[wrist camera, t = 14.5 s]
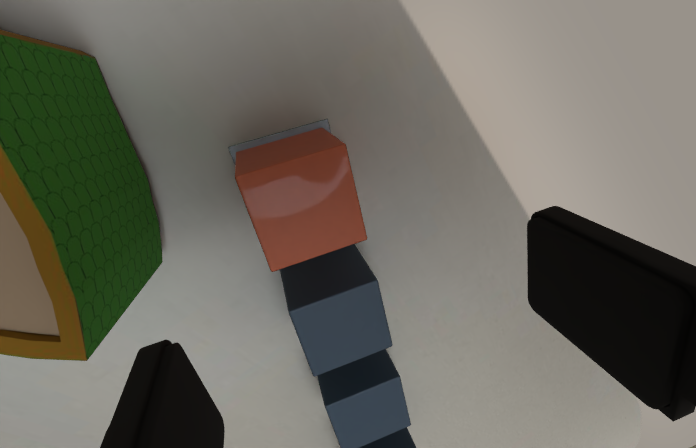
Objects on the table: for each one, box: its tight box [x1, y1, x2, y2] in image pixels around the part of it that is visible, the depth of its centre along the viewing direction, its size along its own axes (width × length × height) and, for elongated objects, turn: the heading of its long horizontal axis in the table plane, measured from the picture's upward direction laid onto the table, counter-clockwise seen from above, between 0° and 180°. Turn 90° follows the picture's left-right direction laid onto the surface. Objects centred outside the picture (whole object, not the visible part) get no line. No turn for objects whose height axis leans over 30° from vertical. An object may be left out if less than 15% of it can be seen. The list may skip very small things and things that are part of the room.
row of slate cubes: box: [228, 119, 416, 448], centre depth 22 cm, size 5×26×5 cm, turn 13°
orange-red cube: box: [235, 128, 367, 272], centre depth 17 cm, size 5×5×5 cm
